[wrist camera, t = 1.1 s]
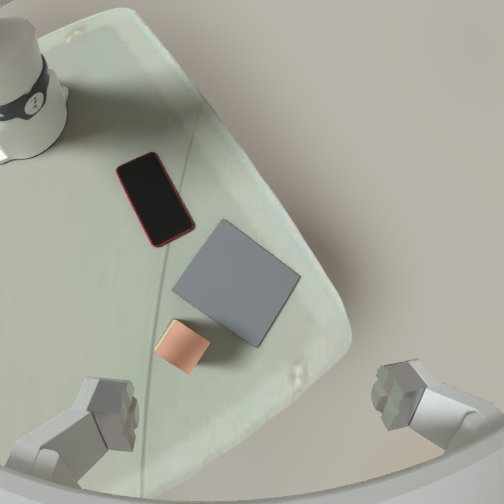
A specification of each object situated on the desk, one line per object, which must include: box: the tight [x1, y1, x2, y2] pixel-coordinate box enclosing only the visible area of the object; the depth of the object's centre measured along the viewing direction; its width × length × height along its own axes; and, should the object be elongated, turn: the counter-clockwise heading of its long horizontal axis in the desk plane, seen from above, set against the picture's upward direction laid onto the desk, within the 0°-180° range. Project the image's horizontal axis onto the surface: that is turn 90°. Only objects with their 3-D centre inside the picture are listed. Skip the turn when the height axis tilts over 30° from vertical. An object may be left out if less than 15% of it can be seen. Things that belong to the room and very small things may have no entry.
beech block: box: [154, 319, 210, 375], centre depth 42 cm, size 5×5×9 cm
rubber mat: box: [172, 219, 300, 348], centre depth 51 cm, size 16×14×1 cm
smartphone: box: [116, 152, 194, 247], centre depth 49 cm, size 7×1×15 cm
